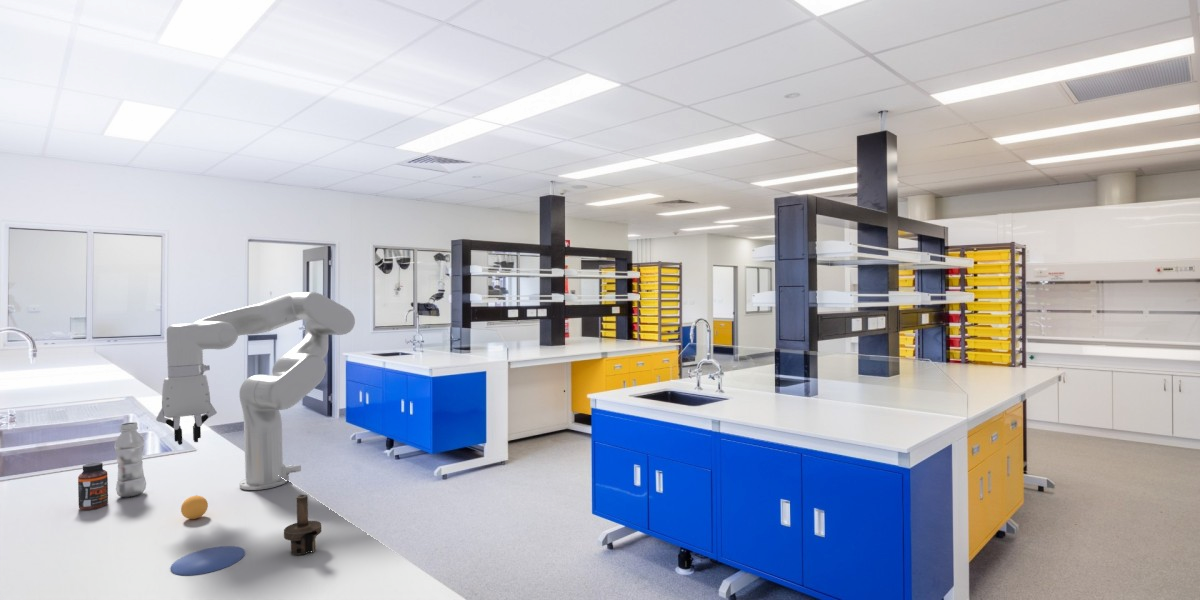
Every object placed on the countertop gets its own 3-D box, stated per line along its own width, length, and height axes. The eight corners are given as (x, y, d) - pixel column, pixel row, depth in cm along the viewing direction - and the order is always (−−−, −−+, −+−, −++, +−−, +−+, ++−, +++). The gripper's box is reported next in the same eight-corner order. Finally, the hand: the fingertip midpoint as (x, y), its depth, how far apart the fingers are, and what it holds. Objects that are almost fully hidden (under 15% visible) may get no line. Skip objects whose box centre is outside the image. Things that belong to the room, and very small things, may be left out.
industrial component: (327, 551, 129) (326, 495, 129) (291, 562, 124) (290, 504, 124) (311, 538, 136) (310, 486, 136) (276, 549, 131) (275, 494, 131)
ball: (206, 512, 153) (205, 490, 153) (209, 518, 149) (209, 496, 149) (180, 518, 150) (179, 496, 150) (182, 524, 145) (182, 501, 145)
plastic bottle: (152, 492, 169) (149, 421, 168) (126, 501, 162) (123, 427, 162) (136, 490, 171) (133, 420, 170) (110, 498, 164) (107, 425, 164)
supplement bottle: (91, 511, 155) (89, 468, 155) (72, 510, 156) (71, 466, 156) (114, 503, 161) (112, 461, 160) (96, 502, 162) (94, 460, 162)
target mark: (238, 541, 135) (238, 540, 135) (250, 561, 125) (250, 560, 125) (167, 559, 127) (167, 558, 127) (174, 582, 117) (174, 581, 117)
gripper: (220, 367, 164) (222, 434, 164) (145, 373, 153) (147, 445, 154) (224, 369, 158) (227, 439, 159) (147, 376, 148) (149, 451, 148)
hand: (187, 441), depth 156 cm, fingers open, 2 cm apart
